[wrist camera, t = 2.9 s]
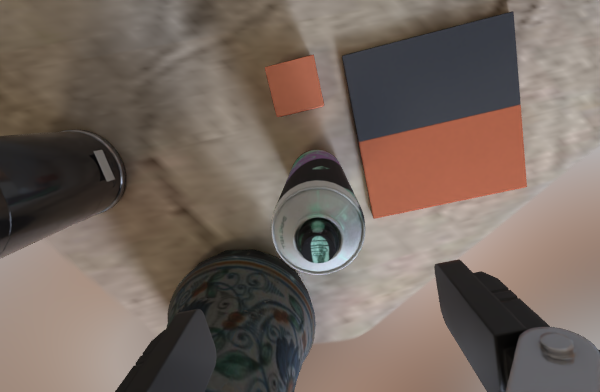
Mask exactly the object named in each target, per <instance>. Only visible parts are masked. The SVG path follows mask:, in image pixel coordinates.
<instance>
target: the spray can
mask: <svg viewBox="0 0 600 392" xmlns="http://www.w3.org/2000/svg"><path fill="white" fill-rule="evenodd" d="M271 234H272V240H273V244H274V246H275V249H276V251H277V252H278V254H279V255H280V257H281V258H282V259H283V260H284V261H285V262H286V263H287V264H288V265H290V266H291V267H293V268H294V269H296V270H298V271H301V272H303V273H307V274H314V275H323V274H330V273H333V272H336V271H338V270H340V269H342V268H344V267H346V266H347V265H348V264H350V263H351V262H352V261H353V260H354V259H355V257H356V256H357V255H358V253H359V251H360V250H361V248H362V245H363V242H364V237H365V221H364V215H363V212H362V209H361V207H360V205H359V203H358V201H357V199H356V197H355V194H354V192H353V190H352V188H351V186H350V184H349V182H348V180H347V178H346V176H345V173H344V171H343V169H342V167H341V165H340V163H339V162H338V160H337V159H336V158H335V157H334V156H333V155H332V154H330V153H328V152H326V151H323V150H311V151H308V152H306V153H304V154H302V155H301V156H300V157H299V158H298V159H297V160H296V161H295V163H294V165H293V167H292V170H291V172H290V174H289V177H288V179H287V181H286V184H285V186H284V188H283V191H282V193H281V196H280V198H279V200H278V203H277V205H276V207H275V210H274V212H273V217H272V224H271Z"/></svg>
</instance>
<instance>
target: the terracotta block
mask: <svg viewBox="0 0 600 392" xmlns="http://www.w3.org/2000/svg"><path fill="white" fill-rule="evenodd" d="M265 71H266V75H267V79H268V83H269V87H270V91H271V95H272V99H273V103H274V108H275V112H276V116H277V117H282V116H287V115H291V114H295V113H299V112H303V111H307V110H311V109H315V108H319V107H323V106H324V102H323V97H322V93H321V88H320V83H319V79H318V74H317V69H316V65H315V60H314V55H309V56H306V57H302V58H298V59H294V60H290V61H287V62H283V63H279V64H275V65H271V66H268V67H265Z"/></svg>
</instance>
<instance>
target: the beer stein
mask: <svg viewBox="0 0 600 392" xmlns="http://www.w3.org/2000/svg"><path fill="white" fill-rule="evenodd" d="M196 309H200V310H202V312H203V313H204V315H205V318H206V321H207V324H208V327H209V330H210V333H211V336H212V338H213V341H214V344H215V348H216V364H215V368H214V370H213V373H212V375H211V378H210V380H209V383H208V385H207V388H206V390H205V392H294V389H295V385H296V381H297V378H298V375H299V372H300V369H301V366H302V363H303V361H304V360H305V358H306V357H307V355H308V353H309V351H310V349H311V347H312V344H313V340H314V334H315V314H314V310H313V307H312V303H311V300H310V297H309V294H308V291H307V290H306V288H305V286H304V284H303V283H302V281H301V279H300V278H299V276H298V274H297V273H296V272H295V271H294V270H293V269H292V268H291V267H289V266H288V265H287V264H286V263H285V262H284V261H282V260H281V259H280V258H277V257H274V256H271V255H268V254H266V253H263V252H260V251H257V250H230V251H224V252H222V253H220V254H218V255H216V256H214V257H212V258H210V259H208V260H205V261H203V262H201V263H199V264H198V265H197V267H196V268H195V269H194V270H193V271H191V272H190V273H189V274H188V275H187V276H186V277H185V278H184V279H183V280H182V281H181V282H180V283H179V285H178V287H177V288H176V290H175V292H174V294H173V296H172V298H171V301H170V305H169V309H168V324H167V327H168V326H169V324H170V323H171V321H172V320H173V318H174V317H175V315H176V314H177V313H180V312H185V311H190V310H196ZM166 329H167V328H166Z"/></svg>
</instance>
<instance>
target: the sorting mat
mask: <svg viewBox="0 0 600 392" xmlns="http://www.w3.org/2000/svg"><path fill="white" fill-rule="evenodd" d="M342 60H343V65H344V70H345V76H346V81H347V86H348V91H349V96H350V101H351V106H352V112H353V117H354V122H355V127H356V132H357V137H358V141H359V148H360V153H361V158H362V163H363V168H364V173H365V179H366V184H367V189H368V194H369V199H370V204H371V209H372V215H373V218H374V219H375V218H379V217H384V216H389V215H394V214H399V213H404V212H408V211H413V210H418V209H423V208H428V207H432V206H437V205H442V204H447V203H452V202H456V201H461V200H466V199H471V198H476V197H481V196H485V195H490V194H495V193H500V192H505V191H509V190H514V189H519V188H524V187H527V183H526V170H525V157H524V144H523V131H522V118H521V105H520V92H519V79H518V66H517V53H516V40H515V27H514V14H513V12H509V13H505V14H501V15H497V16H493V17H489V18H486V19H482V20H478V21H474V22H470V23H466V24H463V25H459V26H455V27H451V28H447V29H443V30H440V31H436V32H432V33H428V34H424V35H420V36H416V37H413V38H409V39H405V40H401V41H397V42H393V43H390V44H386V45H382V46H378V47H374V48H370V49H367V50H363V51H359V52H355V53H351V54H347V55H344V56H342Z"/></svg>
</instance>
